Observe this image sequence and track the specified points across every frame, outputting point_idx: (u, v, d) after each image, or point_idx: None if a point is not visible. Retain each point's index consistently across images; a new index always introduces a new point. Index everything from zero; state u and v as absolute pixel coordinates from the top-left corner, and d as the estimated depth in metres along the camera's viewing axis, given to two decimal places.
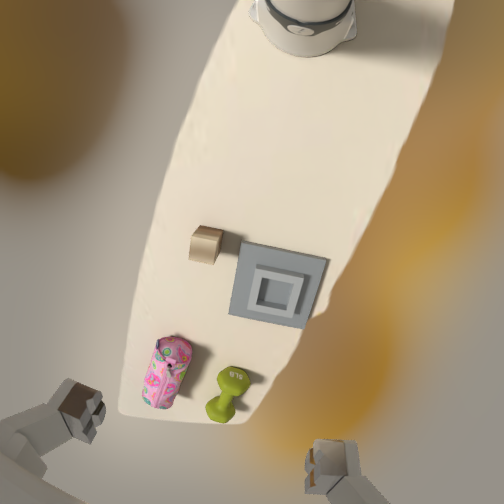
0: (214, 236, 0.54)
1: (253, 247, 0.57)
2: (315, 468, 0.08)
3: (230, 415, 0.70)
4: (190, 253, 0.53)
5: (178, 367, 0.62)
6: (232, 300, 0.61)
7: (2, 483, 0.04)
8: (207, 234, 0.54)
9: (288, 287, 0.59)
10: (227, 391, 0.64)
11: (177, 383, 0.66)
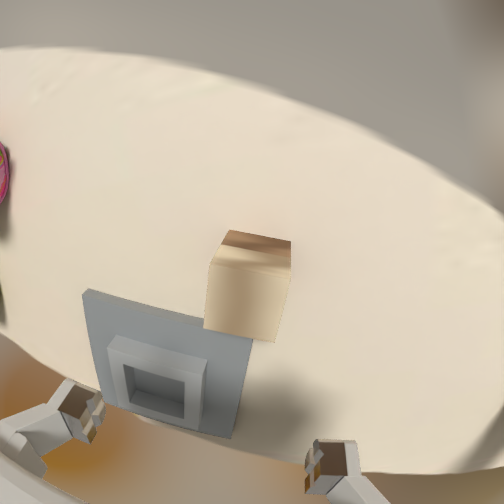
0: None
1: (243, 357, 0.25)
2: (315, 468, 0.08)
3: None
4: (231, 271, 0.17)
5: None
6: (113, 307, 0.25)
7: (2, 483, 0.04)
8: None
9: (170, 397, 0.29)
10: None
11: None
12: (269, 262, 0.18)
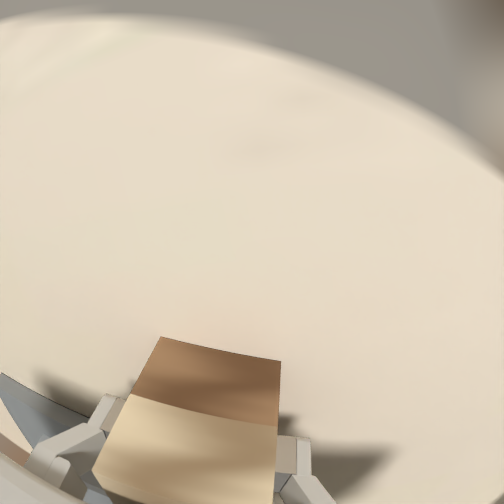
0: None
1: None
2: None
3: None
4: (138, 491, 0.05)
5: None
6: (28, 407, 0.13)
7: (2, 483, 0.04)
8: None
9: None
10: None
11: None
12: (227, 455, 0.07)
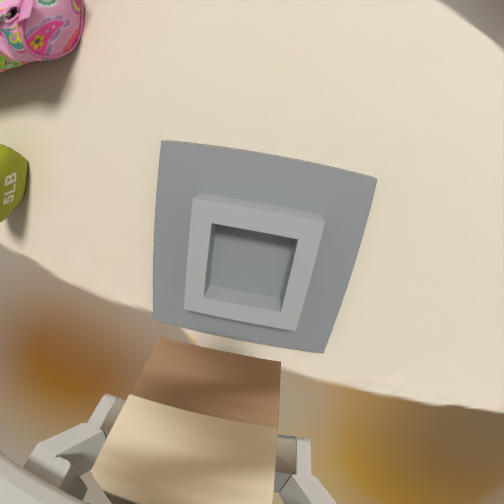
0: None
1: (364, 208, 0.22)
2: None
3: None
4: (137, 492, 0.05)
5: (11, 36, 0.12)
6: (206, 150, 0.21)
7: (2, 483, 0.04)
8: None
9: (258, 288, 0.25)
10: None
11: None
12: (227, 456, 0.07)
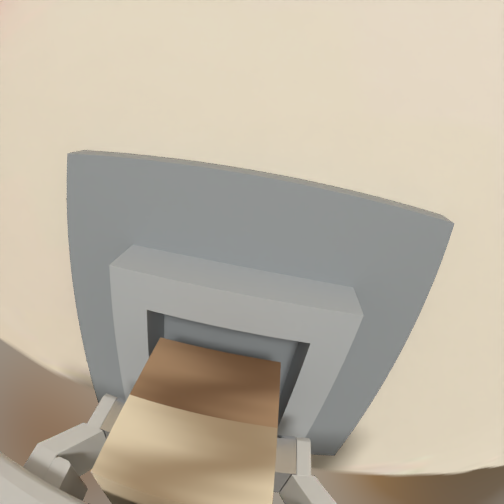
0: None
1: (427, 274, 0.11)
2: None
3: None
4: (137, 492, 0.05)
5: None
6: (136, 167, 0.11)
7: (2, 483, 0.04)
8: None
9: None
10: None
11: None
12: (227, 457, 0.07)
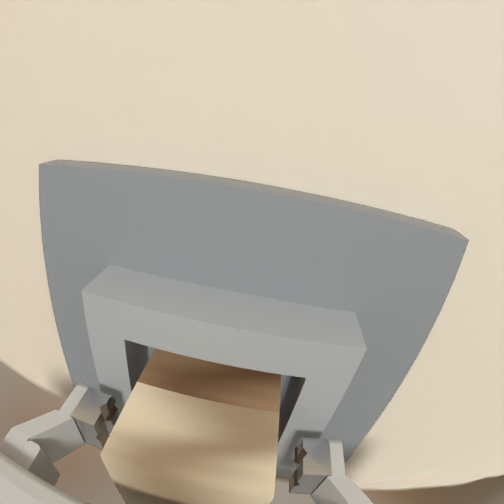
0: None
1: (437, 296, 0.10)
2: (299, 467, 0.08)
3: None
4: (145, 474, 0.06)
5: None
6: (110, 179, 0.09)
7: (2, 483, 0.04)
8: None
9: None
10: None
11: None
12: (231, 439, 0.07)
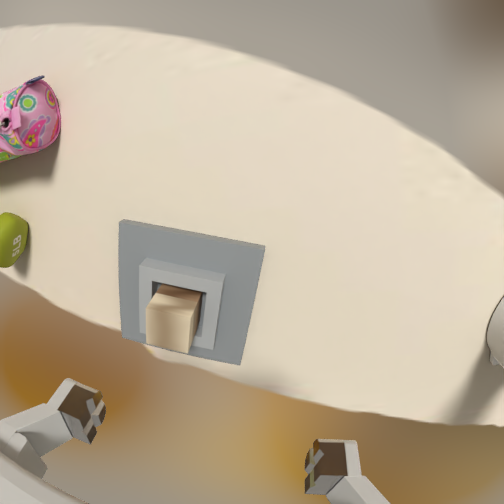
0: (192, 336, 0.31)
1: (256, 269, 0.32)
2: (315, 468, 0.08)
3: None
4: (157, 312, 0.28)
5: (10, 139, 0.22)
6: (147, 230, 0.31)
7: (2, 483, 0.04)
8: (193, 325, 0.31)
9: None
10: None
11: None
12: (182, 306, 0.30)
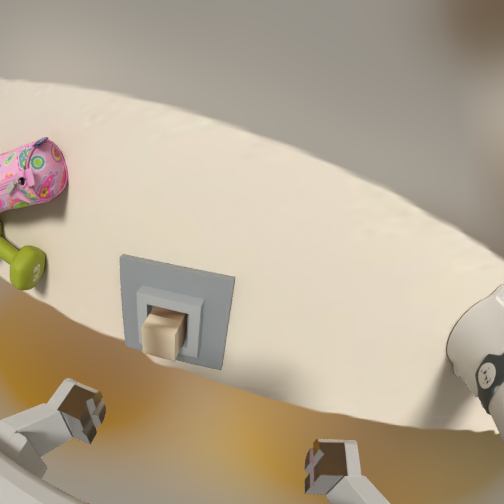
0: (178, 347, 0.39)
1: (228, 296, 0.40)
2: (315, 468, 0.08)
3: None
4: (150, 330, 0.36)
5: (27, 194, 0.30)
6: (142, 264, 0.39)
7: (2, 483, 0.04)
8: (179, 339, 0.39)
9: None
10: (13, 272, 0.36)
11: (6, 207, 0.33)
12: (169, 325, 0.37)
